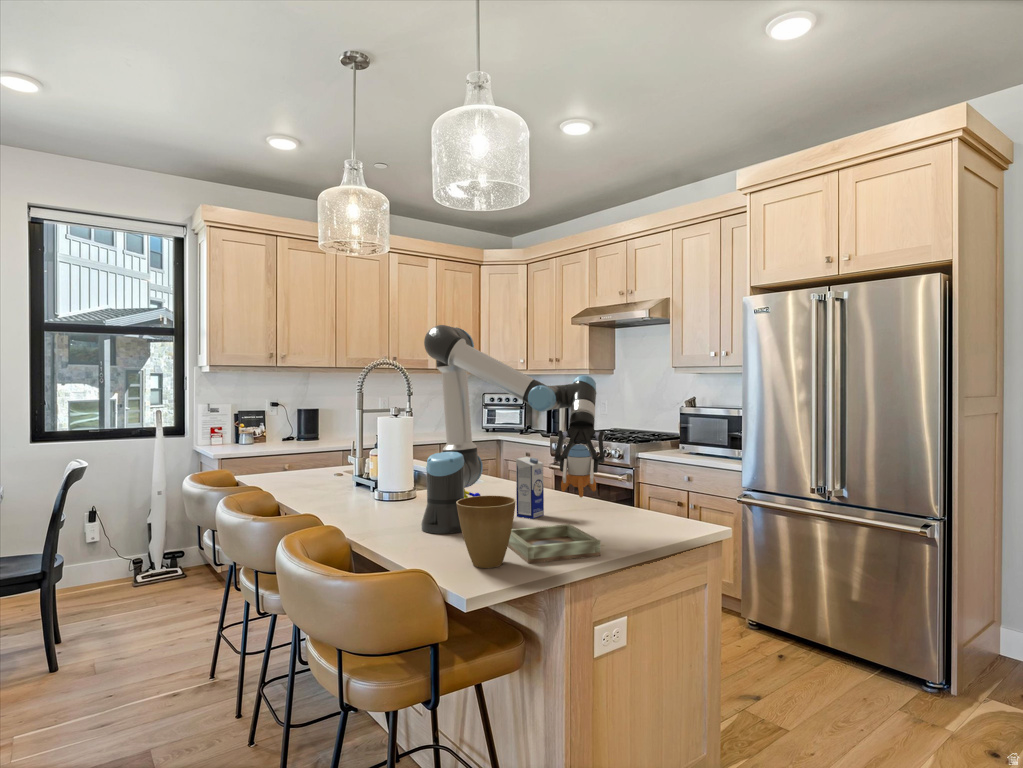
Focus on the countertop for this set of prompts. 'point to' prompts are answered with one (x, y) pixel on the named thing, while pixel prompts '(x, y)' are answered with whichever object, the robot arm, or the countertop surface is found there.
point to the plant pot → (486, 527)
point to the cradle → (552, 543)
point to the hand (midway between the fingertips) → (577, 480)
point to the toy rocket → (578, 469)
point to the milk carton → (529, 488)
